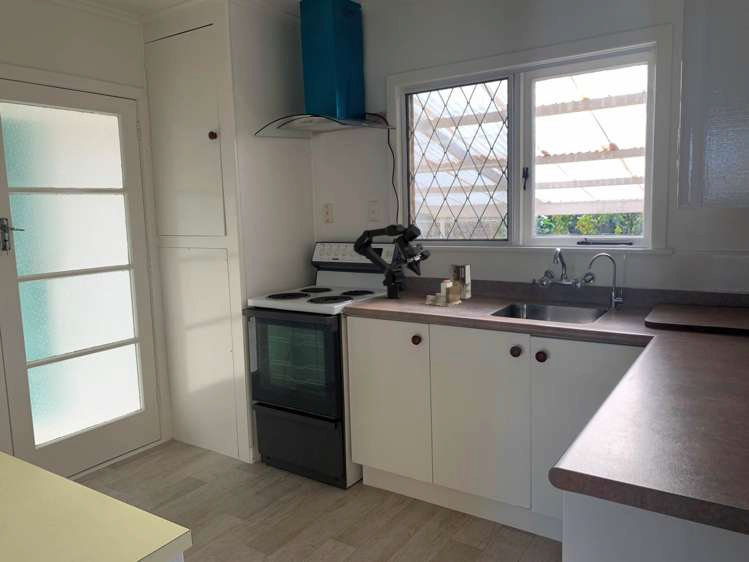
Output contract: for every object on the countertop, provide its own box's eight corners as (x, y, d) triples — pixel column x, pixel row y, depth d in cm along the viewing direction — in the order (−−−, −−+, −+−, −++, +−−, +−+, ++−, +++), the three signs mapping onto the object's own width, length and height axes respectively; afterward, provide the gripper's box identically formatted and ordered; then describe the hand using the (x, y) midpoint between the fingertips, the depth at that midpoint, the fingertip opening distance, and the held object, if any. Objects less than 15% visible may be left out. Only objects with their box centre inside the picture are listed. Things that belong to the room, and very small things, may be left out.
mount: (425, 304, 269) (424, 286, 268) (438, 300, 277) (438, 283, 276) (447, 306, 261) (447, 288, 260) (461, 303, 269) (461, 285, 268)
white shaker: (439, 301, 267) (439, 280, 266) (446, 299, 271) (445, 279, 270) (447, 302, 264) (447, 281, 263) (454, 300, 268) (453, 280, 267)
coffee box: (471, 297, 285) (471, 264, 282) (466, 299, 279) (465, 265, 277) (454, 295, 289) (454, 263, 287) (448, 297, 284) (448, 264, 282)
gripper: (394, 244, 268) (409, 274, 264) (427, 234, 276) (442, 262, 272) (386, 255, 278) (401, 283, 274) (419, 244, 286) (433, 272, 282)
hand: (420, 275), depth 275 cm, fingers closed
